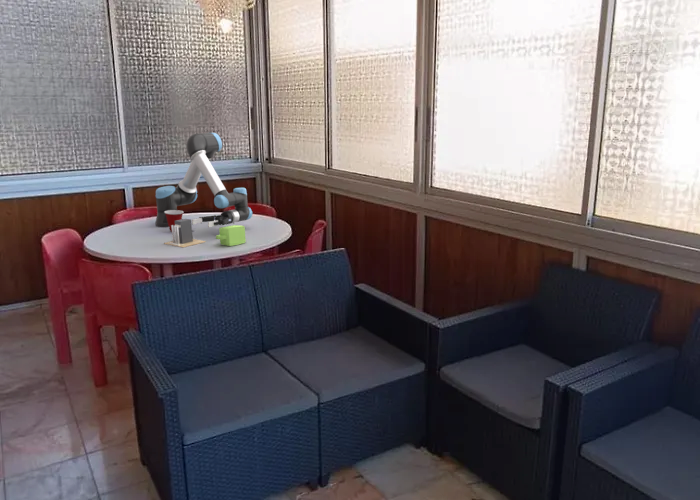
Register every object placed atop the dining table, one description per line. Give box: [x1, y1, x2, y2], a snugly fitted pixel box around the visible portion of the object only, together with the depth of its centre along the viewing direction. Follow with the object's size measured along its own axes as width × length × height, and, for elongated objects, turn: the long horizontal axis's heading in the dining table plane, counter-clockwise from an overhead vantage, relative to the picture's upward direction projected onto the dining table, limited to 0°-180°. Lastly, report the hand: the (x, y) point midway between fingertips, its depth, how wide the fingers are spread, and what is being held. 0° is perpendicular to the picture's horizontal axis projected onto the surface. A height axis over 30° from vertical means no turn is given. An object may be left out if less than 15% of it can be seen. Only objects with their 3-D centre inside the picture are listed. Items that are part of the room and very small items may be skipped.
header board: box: [163, 225, 206, 248], centre depth 316 cm, size 16×15×10 cm
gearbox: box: [215, 224, 247, 247], centre depth 313 cm, size 18×10×10 cm, turn 140°
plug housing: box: [175, 218, 194, 244], centre depth 315 cm, size 5×7×12 cm
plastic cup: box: [165, 209, 185, 233], centre depth 345 cm, size 11×11×12 cm
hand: (200, 223), depth 324 cm, fingers open, 13 cm apart
